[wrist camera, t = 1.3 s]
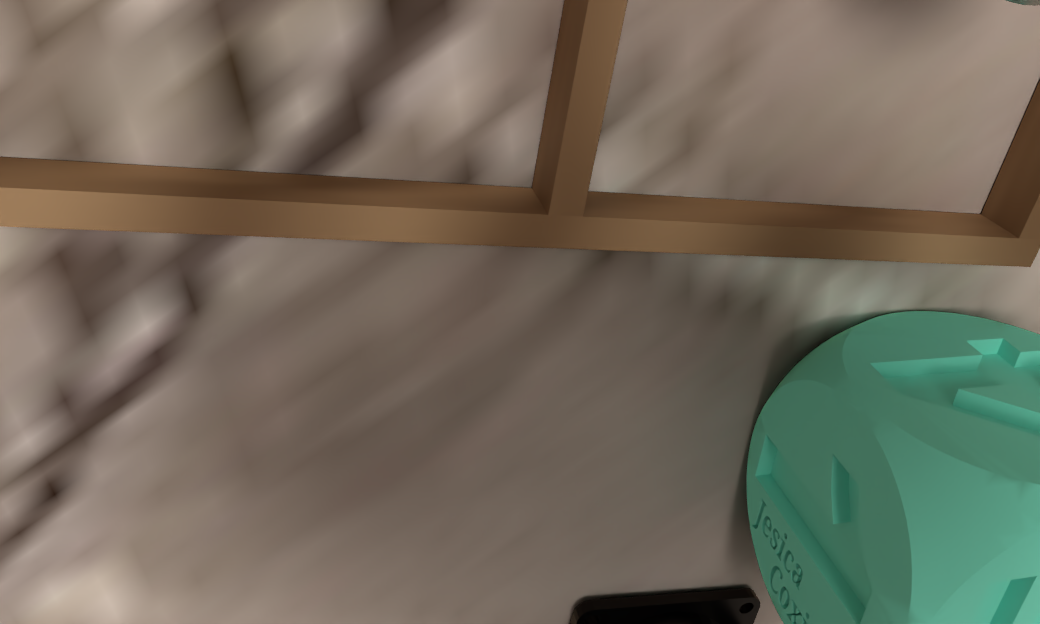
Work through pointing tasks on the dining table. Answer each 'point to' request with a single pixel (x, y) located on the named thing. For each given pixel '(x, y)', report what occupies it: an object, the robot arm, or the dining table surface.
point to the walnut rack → (531, 195)
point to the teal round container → (903, 476)
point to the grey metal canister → (1026, 2)
